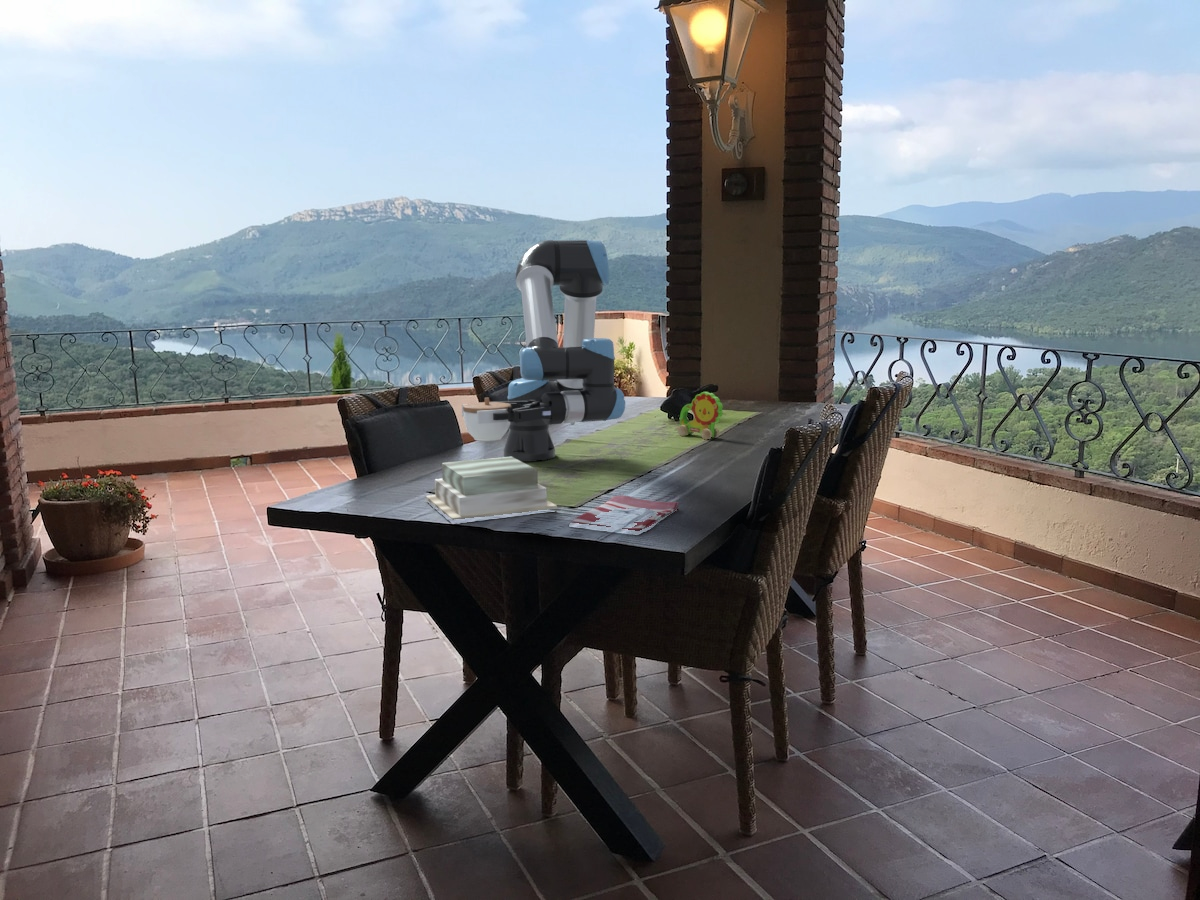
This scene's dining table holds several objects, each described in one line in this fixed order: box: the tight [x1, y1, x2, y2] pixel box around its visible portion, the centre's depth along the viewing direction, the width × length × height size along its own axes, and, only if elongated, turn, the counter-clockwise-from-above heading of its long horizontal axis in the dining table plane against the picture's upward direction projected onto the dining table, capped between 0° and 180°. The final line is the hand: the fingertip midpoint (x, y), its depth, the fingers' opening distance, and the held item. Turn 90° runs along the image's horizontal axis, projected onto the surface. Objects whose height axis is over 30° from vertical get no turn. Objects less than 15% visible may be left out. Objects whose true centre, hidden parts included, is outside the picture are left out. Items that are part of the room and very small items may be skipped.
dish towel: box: [569, 495, 679, 531], centre depth 192 cm, size 17×23×3 cm
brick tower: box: [425, 456, 558, 520], centre depth 201 cm, size 22×24×10 cm
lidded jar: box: [463, 397, 511, 442], centre depth 197 cm, size 11×11×9 cm
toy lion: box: [676, 391, 724, 440], centre depth 287 cm, size 16×5×15 cm, turn 47°
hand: (469, 413), depth 195 cm, fingers closed on lidded jar, 11 cm apart
